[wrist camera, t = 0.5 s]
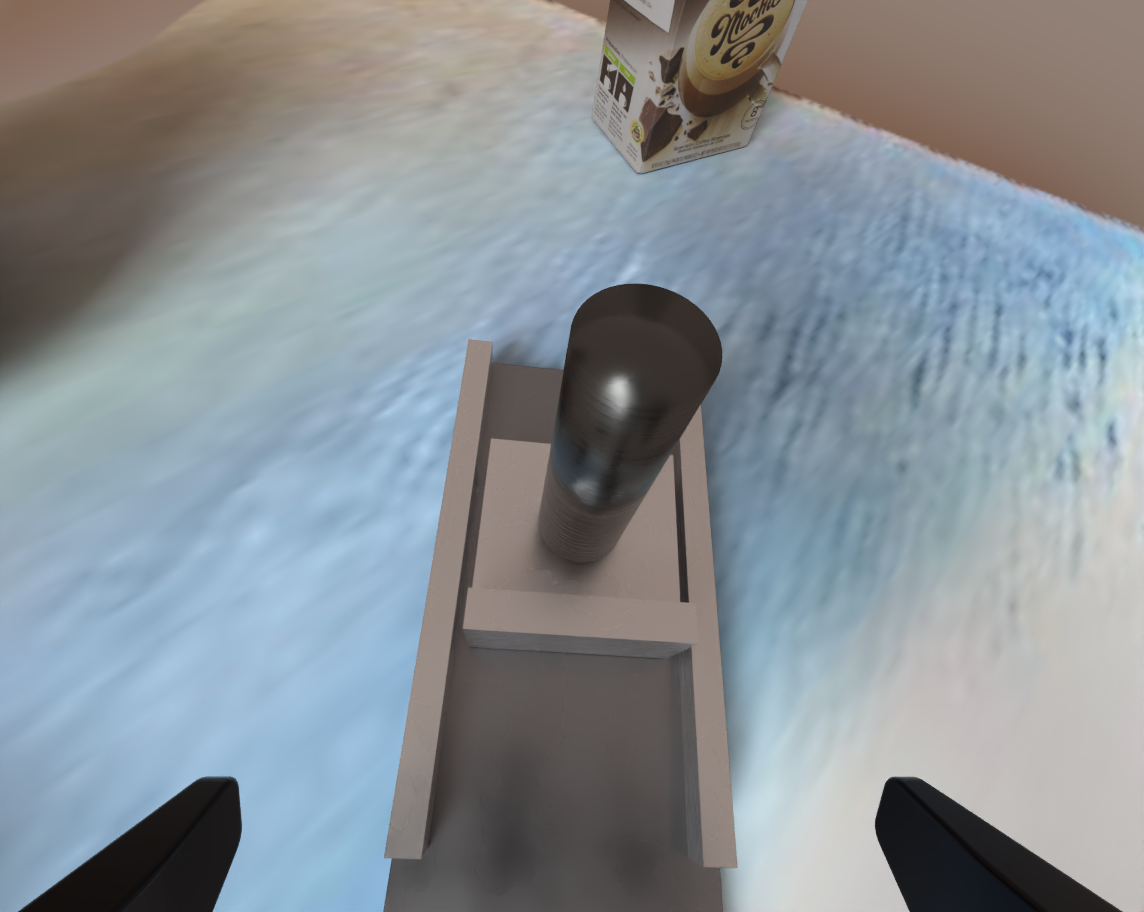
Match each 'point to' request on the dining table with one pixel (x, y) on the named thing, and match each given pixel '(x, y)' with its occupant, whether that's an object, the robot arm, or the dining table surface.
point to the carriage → (598, 490)
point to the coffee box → (688, 75)
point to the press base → (557, 721)
